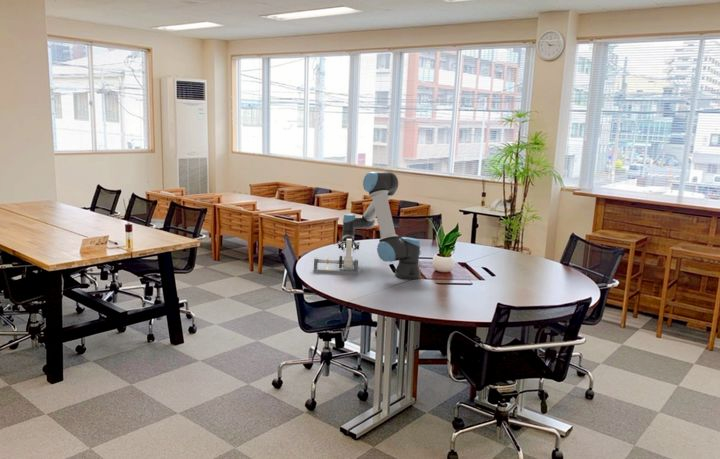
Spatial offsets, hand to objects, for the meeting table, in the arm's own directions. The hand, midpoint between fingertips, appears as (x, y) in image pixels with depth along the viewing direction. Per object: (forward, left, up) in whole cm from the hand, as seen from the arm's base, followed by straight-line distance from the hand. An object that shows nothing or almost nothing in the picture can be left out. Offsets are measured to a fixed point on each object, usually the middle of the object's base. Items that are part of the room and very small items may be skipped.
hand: (349, 249), depth 341 cm
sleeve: (+3, -4, -13) cm, 14 cm away
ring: (+7, -2, -13) cm, 14 cm away
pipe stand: (+9, -1, -15) cm, 17 cm away
